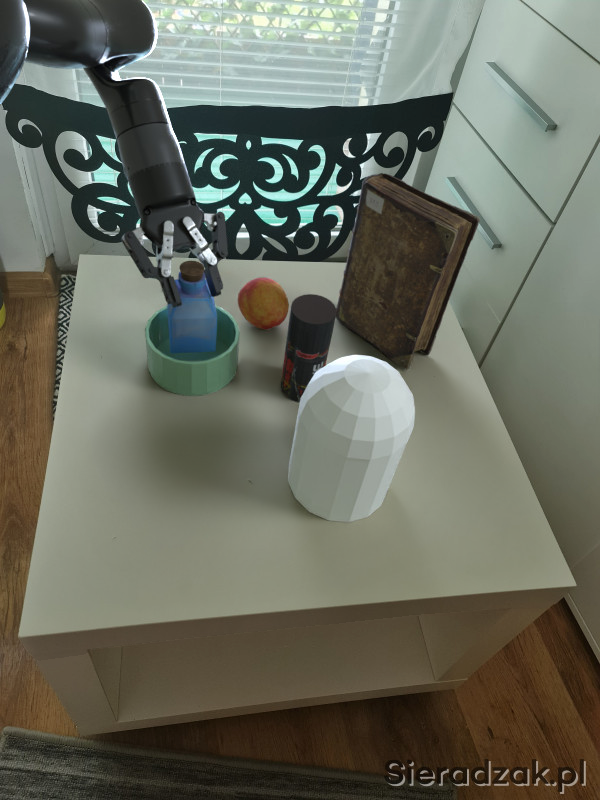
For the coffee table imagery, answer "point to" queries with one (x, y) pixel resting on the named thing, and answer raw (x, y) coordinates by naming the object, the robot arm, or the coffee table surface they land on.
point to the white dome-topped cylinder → (349, 437)
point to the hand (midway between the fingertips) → (197, 300)
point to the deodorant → (306, 342)
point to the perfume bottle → (192, 312)
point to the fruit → (263, 303)
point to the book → (402, 266)
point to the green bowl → (192, 357)
